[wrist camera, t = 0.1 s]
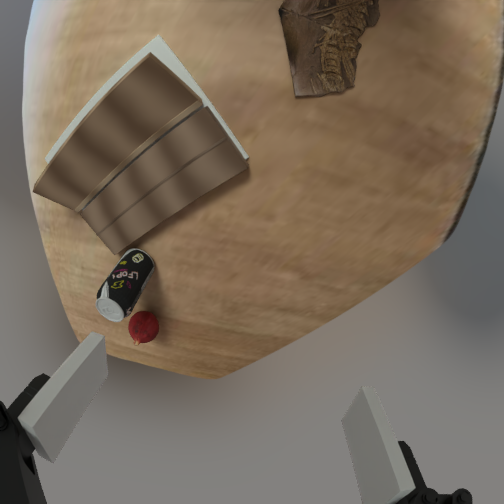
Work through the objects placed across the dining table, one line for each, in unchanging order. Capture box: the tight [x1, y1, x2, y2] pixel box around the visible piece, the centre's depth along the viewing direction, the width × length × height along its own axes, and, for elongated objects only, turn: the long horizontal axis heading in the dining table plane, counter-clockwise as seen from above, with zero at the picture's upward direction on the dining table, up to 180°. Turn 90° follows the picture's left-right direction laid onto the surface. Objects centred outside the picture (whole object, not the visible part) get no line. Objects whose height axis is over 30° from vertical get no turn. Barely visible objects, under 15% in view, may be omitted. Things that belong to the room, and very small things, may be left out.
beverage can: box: [96, 249, 154, 322], centre depth 40 cm, size 6×6×12 cm
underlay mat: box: [45, 35, 249, 210], centre depth 34 cm, size 27×20×1 cm
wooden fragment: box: [279, 0, 380, 97], centre depth 22 cm, size 26×11×1 cm, turn 164°
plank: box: [33, 52, 203, 212], centre depth 30 cm, size 26×9×2 cm
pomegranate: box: [128, 311, 159, 346], centre depth 49 cm, size 6×6×8 cm
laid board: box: [80, 106, 249, 255], centre depth 36 cm, size 26×9×2 cm, turn 123°
